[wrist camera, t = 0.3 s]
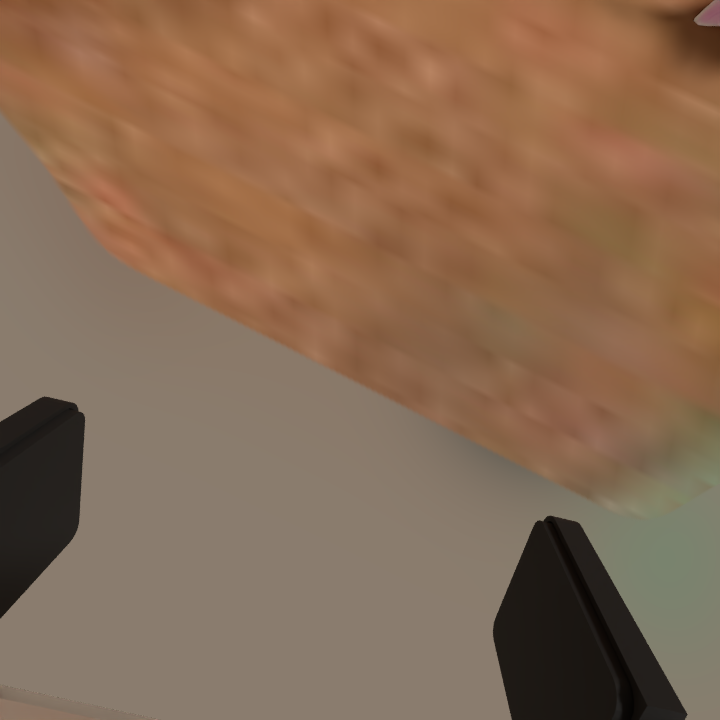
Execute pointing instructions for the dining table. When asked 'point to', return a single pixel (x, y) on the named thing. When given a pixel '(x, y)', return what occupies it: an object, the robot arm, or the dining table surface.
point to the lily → (709, 15)
